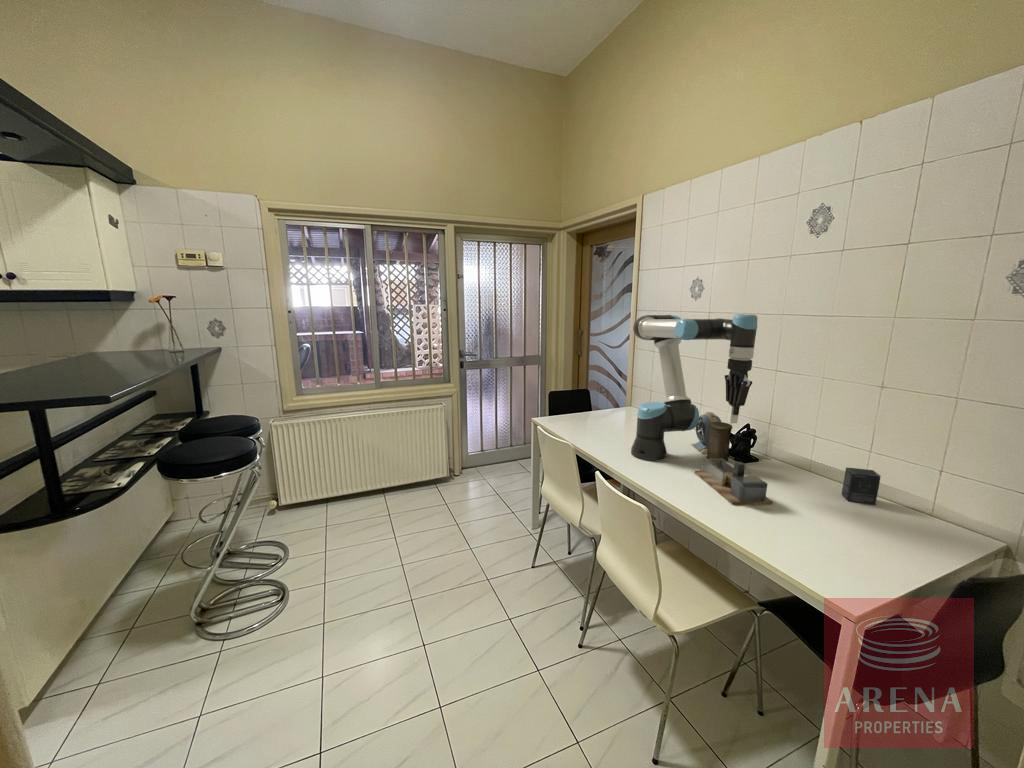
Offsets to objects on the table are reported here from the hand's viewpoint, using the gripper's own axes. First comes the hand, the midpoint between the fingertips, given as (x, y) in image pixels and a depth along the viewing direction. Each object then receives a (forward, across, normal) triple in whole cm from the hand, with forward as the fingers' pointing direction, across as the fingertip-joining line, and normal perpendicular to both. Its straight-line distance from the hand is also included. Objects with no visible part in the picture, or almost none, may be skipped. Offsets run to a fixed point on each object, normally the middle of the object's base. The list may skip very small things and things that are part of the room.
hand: (732, 422), depth 147 cm
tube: (+23, +8, 0) cm, 24 cm away
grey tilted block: (+23, -3, 0) cm, 23 cm away
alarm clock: (+24, -36, +12) cm, 45 cm away
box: (+24, +14, +39) cm, 48 cm away
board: (+24, +3, 0) cm, 24 cm away
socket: (+23, +13, 0) cm, 26 cm away
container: (+24, -17, +6) cm, 30 cm away
